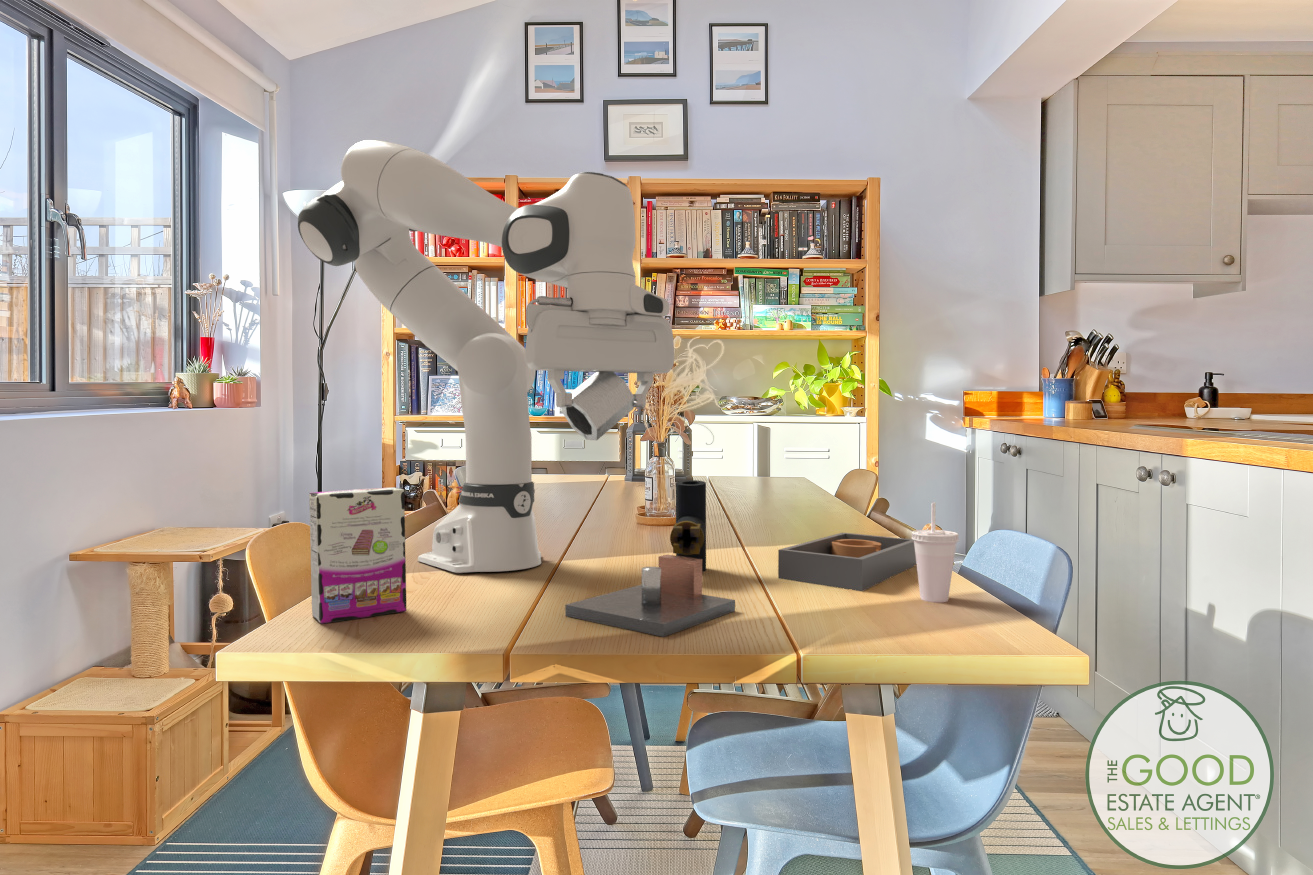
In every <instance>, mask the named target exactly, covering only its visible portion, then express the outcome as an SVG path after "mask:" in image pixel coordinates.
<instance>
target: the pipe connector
mask: <svg viewBox="0 0 1313 875" xmlns="http://www.w3.org/2000/svg"><path fill="white" fill-rule="evenodd" d="M669 541H670V545H671V546H672V553H673V554H675V556H682V557H689V558H697V559H702V573H704V572H706V571H707V482H705V481H704V480H703V481H702V480H698V479H697V480H696V479H691V480H690V479H687V480H685V479H684V480H679V481H676V482H675V523H674V525H673V527H672V530H671V532H670V534H669Z"/></svg>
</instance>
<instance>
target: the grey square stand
mask: <svg viewBox="0 0 1313 875" xmlns="http://www.w3.org/2000/svg"><path fill="white" fill-rule="evenodd" d="M564 608H565V612H564V613H565V617H566V618H567V617H568V618H573V619H578V620H582V621H587V622H591V623H596V624H601V625H605V626H610V627H615V628H620V629H623V630H624V629H625V630H630V631H633V632H638V633H644V634H648V635H654V636H658V637H662V638H665V637H667V636H669V635H673V634H675V633H678V632H681V631H684V630H686V629H689V628H692V627H695V626H697V625H700V624H703V623H706V622H709V621H711V620H714V619H717V618H719V617H722V616H725V615H728V614H732V613H733V612H735V611H736V599H733V598H732V599H731V598H725V597H719V596H713V595H708V594H703V572H702V559H697V558H689V557H682V556H676V555H675V554H674V555H673V554H664V555H659V556H658V566H644V567H641V584H639V585H638V584H637V585H635V586H632V587H628V588H623V589H619V590H616V591H612V592H608V593H604V594H601V595H597V596H594V597H589V598H585V599H581V600H578V601H574V602H570V603H566V604H565V607H564Z"/></svg>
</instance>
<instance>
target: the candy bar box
mask: <svg viewBox="0 0 1313 875" xmlns="http://www.w3.org/2000/svg"><path fill="white" fill-rule="evenodd" d="M308 496H309V497H308V498H309V501H308V502H309V503H308V504H309V532H310V533H309V535H310V538H309V539H310V541H309V542H310V545H309V546H310V576H311V577H310V579H311V582H310V583H311V585H310V586H311V590H310V591H311V615H312V617H313V619H315V620H316V621H317V622H318V623H319V624H329V623H336V622H343V621H351V620H358V619H363V618H370V617H376V616H377V617H378V616H383V615H390V614H398V613H402V612H406V611H407V570H406V568H407V565H406V561H407V560H406V557H407V556H406V520H405V519H406V518H405V517H406V516H405V513H406V512H405V489H402V488H398V487H396V486H393V487H378V488H377V487H376V488H361V489H359V488H358V489H344V490H343V489H342V490H331V491H328V490H327V491H317V492H309V495H308Z"/></svg>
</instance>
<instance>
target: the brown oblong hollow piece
mask: <svg viewBox="0 0 1313 875" xmlns="http://www.w3.org/2000/svg"><path fill="white" fill-rule="evenodd" d="M880 550H881V543H879V542H875V541H869V540H859V539H840V540H834V541H833V542H832V548H831V555H839V556H847V557H856V558H860V557H862V556H865V555H868V554H871V553H874V552H877V551H880Z"/></svg>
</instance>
